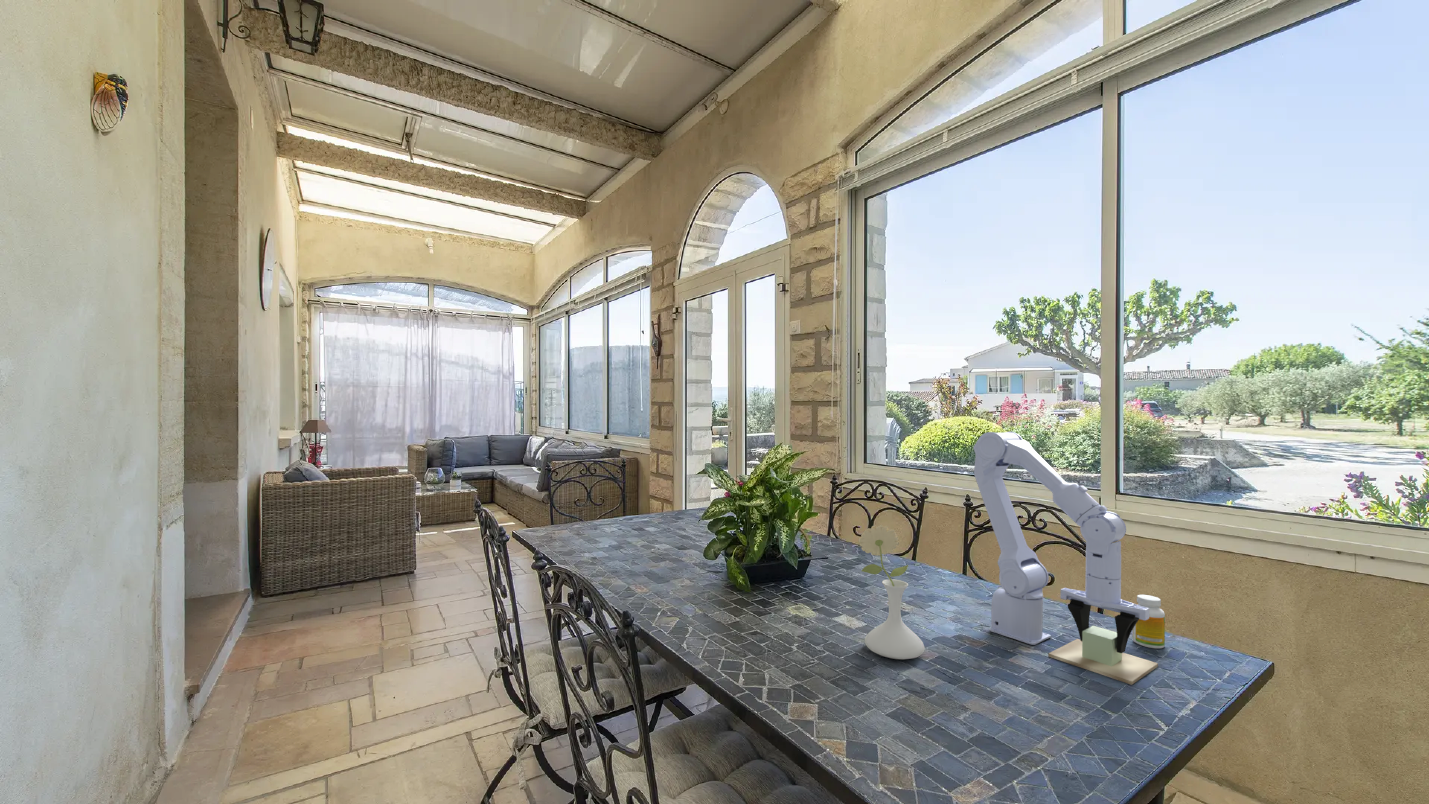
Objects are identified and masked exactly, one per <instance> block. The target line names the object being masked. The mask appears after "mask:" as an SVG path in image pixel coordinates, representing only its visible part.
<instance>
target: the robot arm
mask: <svg viewBox="0 0 1429 804" xmlns="http://www.w3.org/2000/svg"><path fill="white" fill-rule="evenodd" d="M973 451H974V454H975V457H974V459H975V460H974V470H973V474H974V478H975V479H974V480H975V481H976V484H977V487H978V490H979V493H980V495H981V499H982V501H983V503H984V506H985V509H986V513H987V515H988V517H989V520H990V524H991V527H992V529H993V532H994V535H995V537H996V541H997V543H998V546H999V547H998V548H999V550H1000V554H999V556H998V560H997V565H998V567H999V568H998V569H999V576H998V579H999V580H998V581H999V584H1000V586H1001V588H1000V587H999V588H997V589H996V590H995V591H994V593H993V594H992V598H991V608H990V609H991V613H990V614H991V619H990V622H991V623H990V628H989V632H992V633H995V634H998V635H1000V636H1004V637H1006V638H1010V639H1014V640H1016V641H1019V642H1022V643H1025V644H1027V645H1032V646H1036V645H1037V644H1039V643H1041V642H1044V641H1046V640H1048V639H1050V638H1051V637H1052V636H1051V634H1049V633H1046V632H1043V627H1044V625H1043V620H1044V614H1043V613H1044V593H1043V589H1044V588H1045V587H1046V586H1047V585H1048V583H1049V579H1050V577H1049V572H1048V570H1047V568H1046V567H1045V566H1044V564H1042V562H1041V561H1040V560H1039V557H1038V555H1037V553H1036V552H1035V551H1034V550H1032V549H1031V547H1029V546H1028V544H1027V541H1026V538H1025V536H1024V533H1023V531H1022V528H1021V525H1020V522H1019V520H1018V517H1017V514H1016V511H1015V508H1014V506H1013V503H1012V501H1011V497H1010V495H1009V491H1008V489H1007V487H1006V484H1005V481H1004V478H1003V475H1004V474H1005V473H1006V471H1007V470H1008V467H1010V465H1014V466H1020V467H1022V468H1023V469H1025V470H1026V472H1028V473H1029V474H1030V475H1031V476H1032V477H1034V478H1035V479H1036V480H1037V481H1038V482H1039V483H1041V484H1042V485H1043V486H1044V487H1045V488H1047V490H1049V491H1050V492H1051V494H1052V501H1053V503H1054V504H1055V505H1056V506H1058V508H1059V509H1060V510H1061V511H1063V513H1065V514H1066V515H1067V516H1068V517H1069V519H1070V520H1072V521H1073V523H1075V524H1076V525H1077V526H1078V527H1079V529H1080V534H1081V536H1082V538H1083V539H1084V540H1085V543H1086V544H1085V546H1086V547H1085V585H1084V586H1085V590H1078V589H1072V588H1069V587H1068V588H1067V587H1063V588H1060V599H1061V600H1065V601H1068V600H1069V603H1068V604H1067V609H1068V611H1069V612H1070V614H1071V616H1072V617H1073V620H1074V622H1075V624H1076V628H1077V631H1078V636H1079V639H1080V640H1081V641H1082V631H1084V630H1086V629H1088V628H1090V615H1091V609H1092V606H1093V607H1096V608H1098V609H1099V608H1100V609H1103V610H1107V611H1112V612H1116V613H1119V614H1117V615H1115V616H1114V622H1115V628H1116V629H1115V630H1116V632H1117V646H1116V647H1117V652H1118V653H1125V652H1126V648H1127V643H1128V640H1129V638H1130V637H1131V636H1130V635H1131V633H1133V628H1134V626H1135V625H1136V623H1137V622H1138V620H1139V619H1141V620H1147V619H1149V608H1146V607H1143V606H1139V605H1138V604H1136V603H1133V602H1131V601H1127V600H1124V599H1122V598H1121V597H1122V541H1121V540H1122V539H1123V538H1124V536H1126V533H1127V526H1126V524H1125V521H1124V520H1123V519H1122V518H1121V515H1120V514H1117V513H1116V512H1113V511H1108V507H1107V506H1105V504H1104V505H1101V504H1100V503H1099V502H1098V501H1096V499H1095V498H1093V497H1092V496H1091V495H1090V494H1089V493H1088V490H1089V489H1088V488H1087V487H1086V486H1084V485H1079V484H1078V483H1076V482H1066V481H1065V479H1063V477H1062V476H1060V474H1059V473H1058V472H1057V471H1056V470H1055V469H1053V468H1052V467H1051V465H1050V464H1049V463H1048V462H1047V461H1046V460H1045V459H1044V458H1042V456H1041V455H1040V454H1039V453H1038V452H1037V451H1036V450H1035V449H1034V448H1033V446H1032V445H1031V444H1030V442H1028V441H1027V440H1026V439H1023V438H1022V436H1021V435H1020V434H1018V432H1015V431H1005V432H995V431H994V432H993V431H989V432H984V433H983V434H981V435H980V436H979V437H978V439H977V441H976V442H975V444H974V445H973Z"/></svg>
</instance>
